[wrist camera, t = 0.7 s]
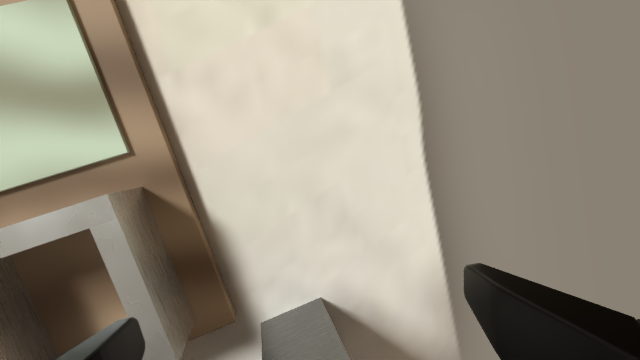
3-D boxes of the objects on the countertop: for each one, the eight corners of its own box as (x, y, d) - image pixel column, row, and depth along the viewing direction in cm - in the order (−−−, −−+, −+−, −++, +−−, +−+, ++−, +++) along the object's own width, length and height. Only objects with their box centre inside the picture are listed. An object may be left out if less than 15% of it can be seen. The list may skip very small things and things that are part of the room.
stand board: (235, 314, 21) (234, 324, 20) (24, 402, 19) (5, 421, 17) (106, -20, 18) (94, -34, 17) (-157, 35, 16) (-195, 24, 15)
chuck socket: (195, 319, 20) (178, 365, 15) (43, 382, 18) (-26, 453, 14) (142, 186, 19) (107, 194, 14) (-25, 241, 17) (-123, 268, 13)
